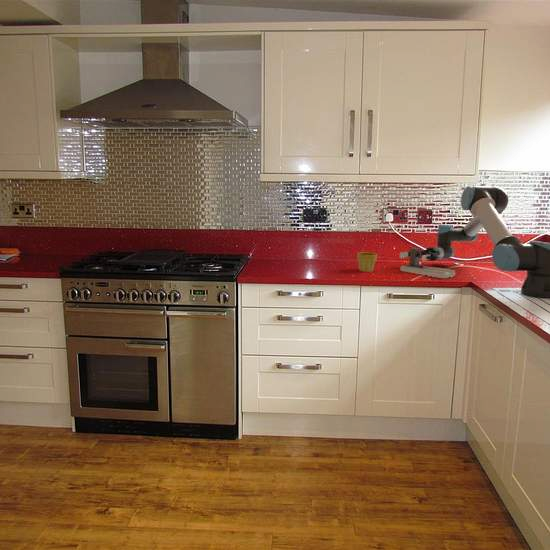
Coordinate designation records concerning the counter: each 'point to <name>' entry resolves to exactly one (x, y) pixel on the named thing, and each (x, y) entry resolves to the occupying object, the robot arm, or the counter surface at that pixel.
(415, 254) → the post
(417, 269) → the rail
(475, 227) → the robot arm
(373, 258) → the plant pot
